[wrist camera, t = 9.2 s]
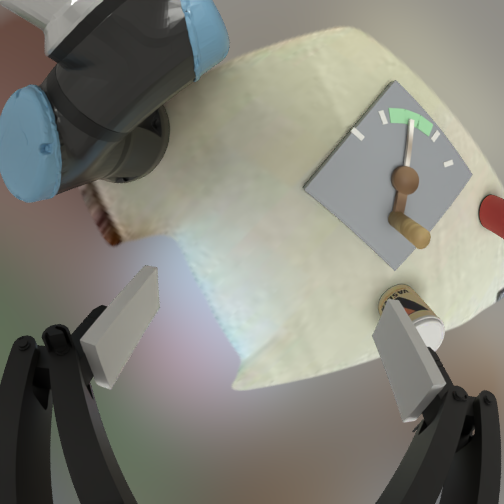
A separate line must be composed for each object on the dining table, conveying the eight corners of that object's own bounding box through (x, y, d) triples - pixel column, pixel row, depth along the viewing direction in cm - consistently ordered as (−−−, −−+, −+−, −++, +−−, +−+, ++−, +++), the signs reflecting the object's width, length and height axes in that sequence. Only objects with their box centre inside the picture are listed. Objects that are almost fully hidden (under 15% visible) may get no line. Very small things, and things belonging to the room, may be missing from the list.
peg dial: (398, 116, 30) (428, 112, 22) (421, 123, 30) (454, 122, 22) (382, 225, 36) (406, 247, 29) (404, 228, 36) (431, 250, 28)
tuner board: (301, 186, 38) (302, 188, 36) (389, 80, 30) (394, 78, 28) (390, 265, 41) (395, 271, 39) (465, 172, 33) (473, 174, 31)
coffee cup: (403, 270, 41) (434, 308, 30) (425, 299, 43) (452, 338, 32) (364, 304, 45) (384, 349, 34) (388, 330, 47) (408, 373, 36)
